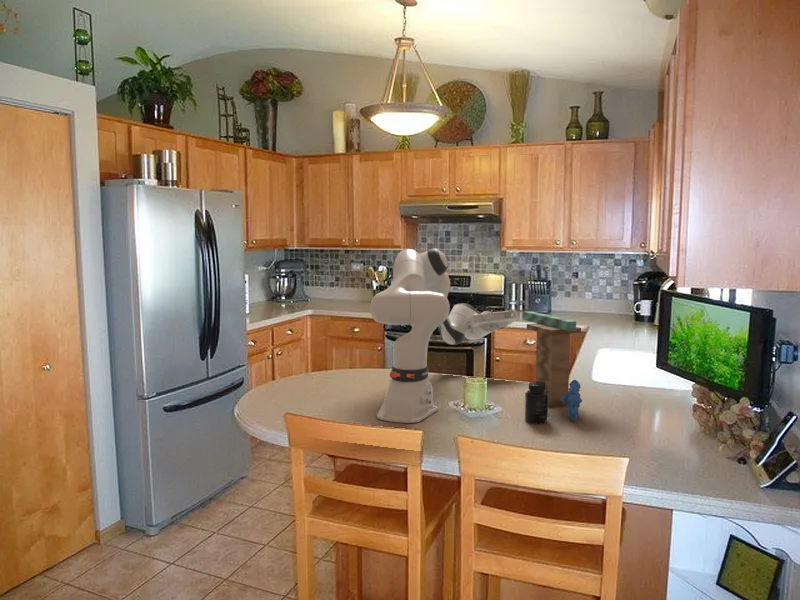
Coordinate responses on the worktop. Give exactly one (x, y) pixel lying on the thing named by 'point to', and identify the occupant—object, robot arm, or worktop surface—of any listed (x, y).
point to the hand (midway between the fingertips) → (502, 312)
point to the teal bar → (549, 320)
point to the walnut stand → (553, 361)
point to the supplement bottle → (536, 403)
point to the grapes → (572, 400)
